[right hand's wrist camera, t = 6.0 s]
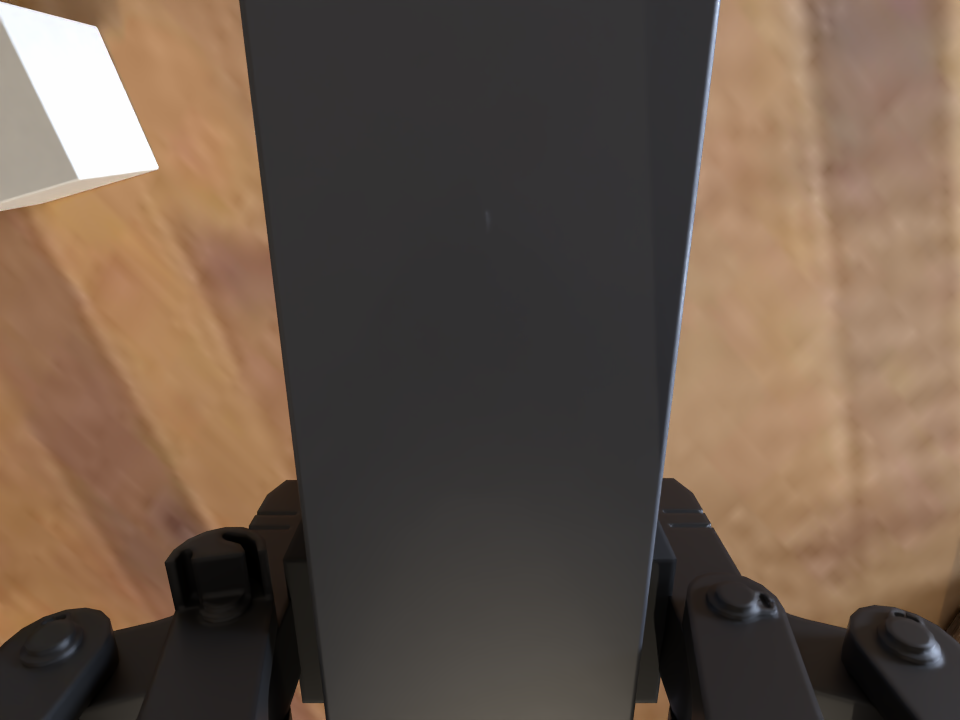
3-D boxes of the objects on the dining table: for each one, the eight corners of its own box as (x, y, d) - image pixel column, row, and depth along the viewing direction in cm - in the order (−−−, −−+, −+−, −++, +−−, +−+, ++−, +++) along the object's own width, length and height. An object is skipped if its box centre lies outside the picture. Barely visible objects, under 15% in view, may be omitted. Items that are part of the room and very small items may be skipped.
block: (97, 25, 21) (-8, -3, 17) (160, 169, 23) (81, 179, 18) (-30, 66, 22) (-167, 50, 17) (41, 203, 24) (-65, 223, 19)
